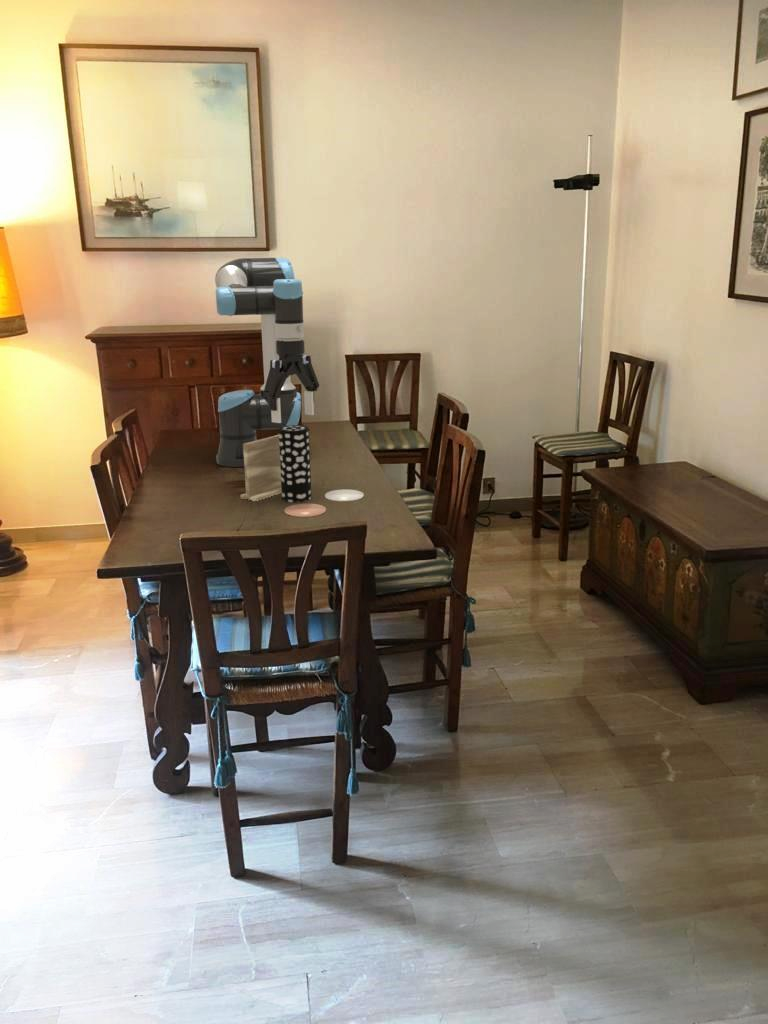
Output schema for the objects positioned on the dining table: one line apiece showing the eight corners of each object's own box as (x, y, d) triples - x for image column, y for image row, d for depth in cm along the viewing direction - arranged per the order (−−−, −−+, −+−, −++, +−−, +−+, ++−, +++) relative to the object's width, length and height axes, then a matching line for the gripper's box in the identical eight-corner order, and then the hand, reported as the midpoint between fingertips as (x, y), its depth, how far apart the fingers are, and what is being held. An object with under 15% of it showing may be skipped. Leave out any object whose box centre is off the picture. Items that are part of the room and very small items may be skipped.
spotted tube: (316, 495, 232) (313, 426, 226) (304, 503, 224) (301, 432, 218) (289, 492, 234) (286, 424, 228) (276, 500, 227) (273, 430, 221)
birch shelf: (240, 498, 230) (237, 442, 225) (283, 484, 244) (281, 431, 239) (256, 501, 226) (253, 445, 221) (298, 487, 240) (296, 433, 235)
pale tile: (316, 497, 230) (316, 496, 229) (340, 488, 238) (340, 487, 238) (347, 503, 224) (347, 502, 223) (371, 494, 232) (371, 493, 232)
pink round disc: (276, 512, 216) (276, 511, 216) (303, 502, 225) (303, 501, 225) (307, 519, 210) (307, 518, 210) (334, 509, 219) (334, 507, 219)
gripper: (268, 344, 204) (272, 427, 211) (330, 336, 224) (332, 412, 230) (246, 342, 209) (251, 424, 215) (309, 335, 228) (312, 410, 234)
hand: (293, 418), depth 223 cm, fingers open, 13 cm apart
